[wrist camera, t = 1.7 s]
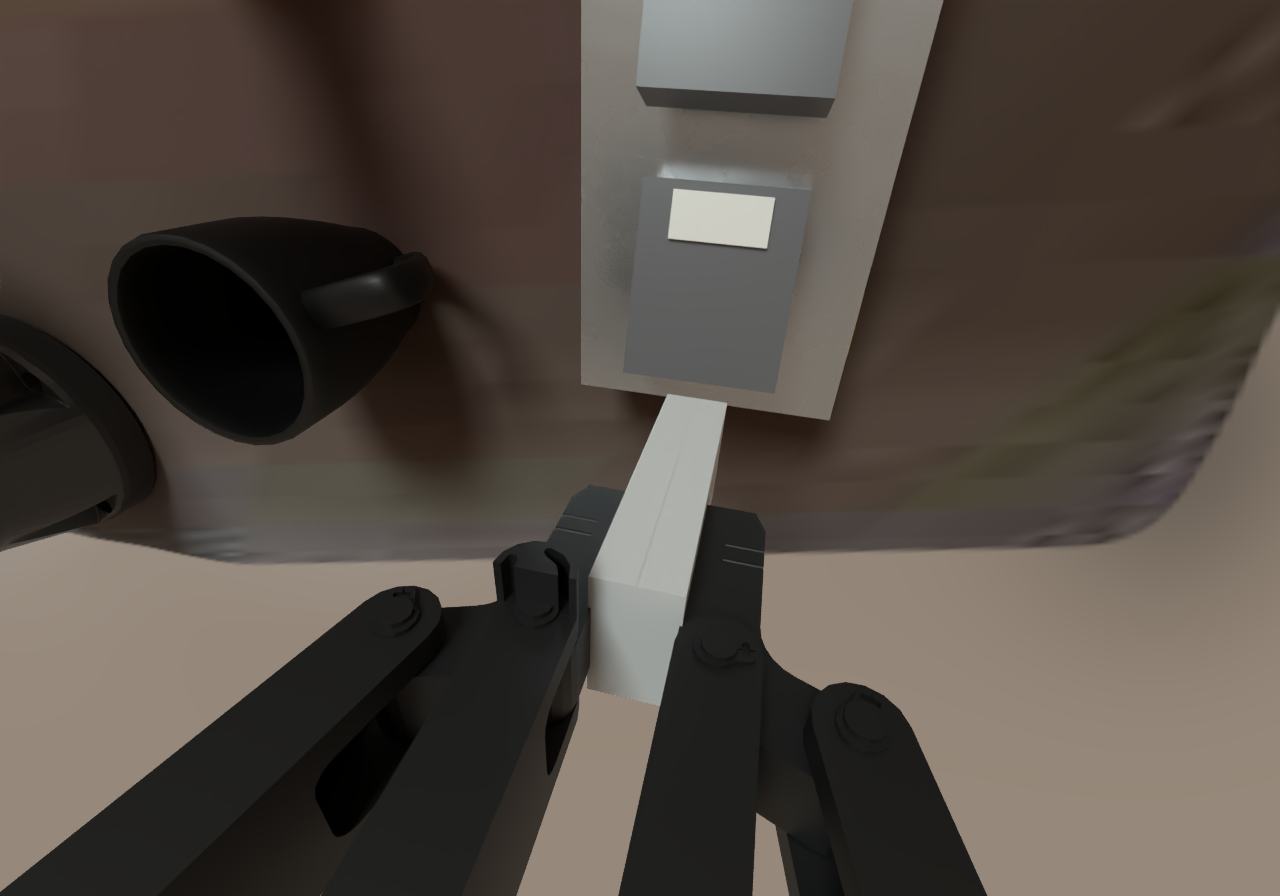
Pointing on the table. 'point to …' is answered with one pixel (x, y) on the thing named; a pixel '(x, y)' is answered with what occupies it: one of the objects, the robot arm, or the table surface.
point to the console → (751, 155)
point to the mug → (263, 318)
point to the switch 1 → (743, 55)
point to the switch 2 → (713, 281)
